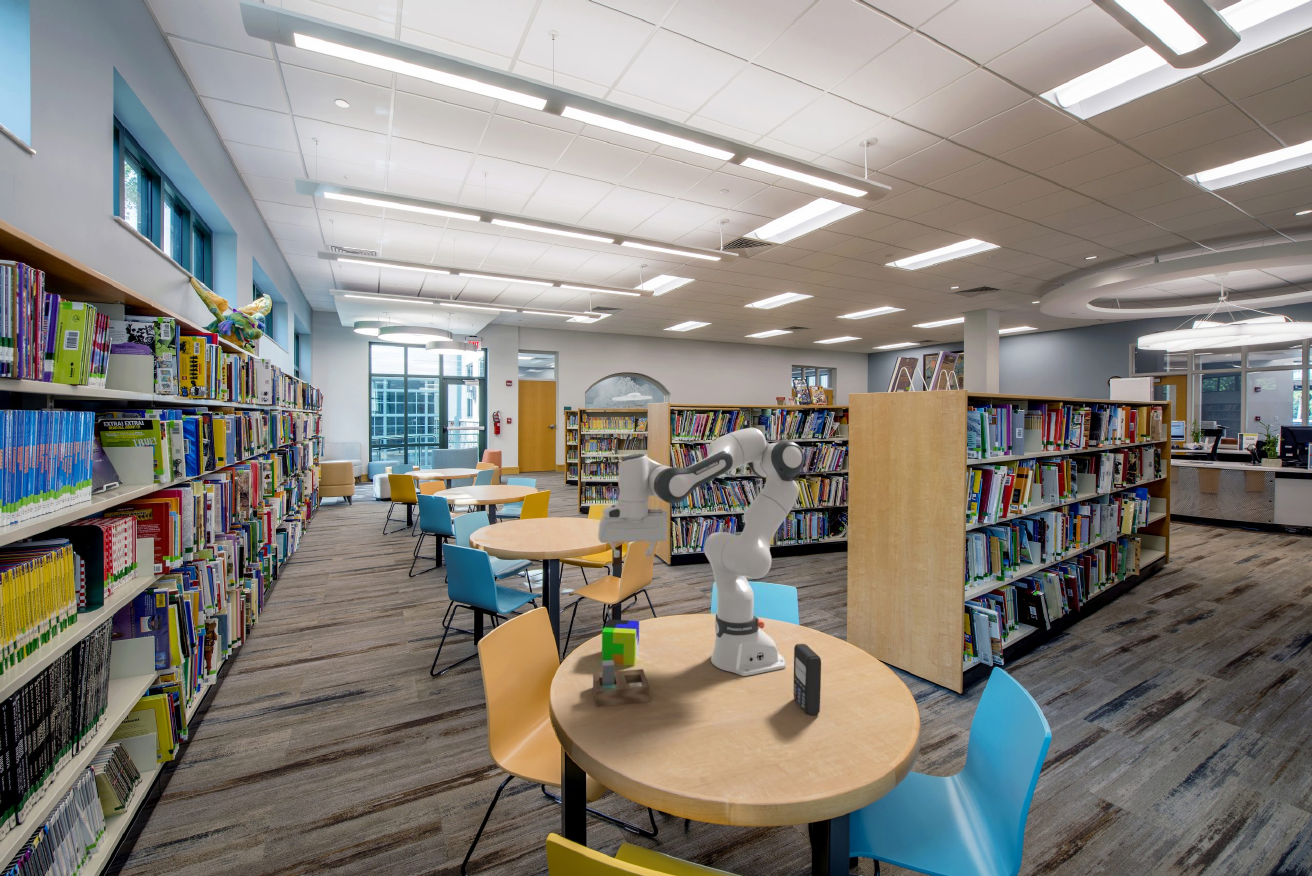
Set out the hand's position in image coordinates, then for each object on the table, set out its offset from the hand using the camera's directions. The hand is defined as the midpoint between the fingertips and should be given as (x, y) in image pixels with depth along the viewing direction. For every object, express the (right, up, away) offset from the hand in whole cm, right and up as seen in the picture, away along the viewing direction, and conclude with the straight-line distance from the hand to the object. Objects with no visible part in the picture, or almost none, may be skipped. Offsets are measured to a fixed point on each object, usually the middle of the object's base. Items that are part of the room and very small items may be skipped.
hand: (632, 556), depth 156 cm
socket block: (-3, -35, -12) cm, 37 cm away
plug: (-6, -35, -13) cm, 37 cm away
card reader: (+46, -36, -17) cm, 61 cm away
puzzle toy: (-4, -34, +10) cm, 36 cm away
